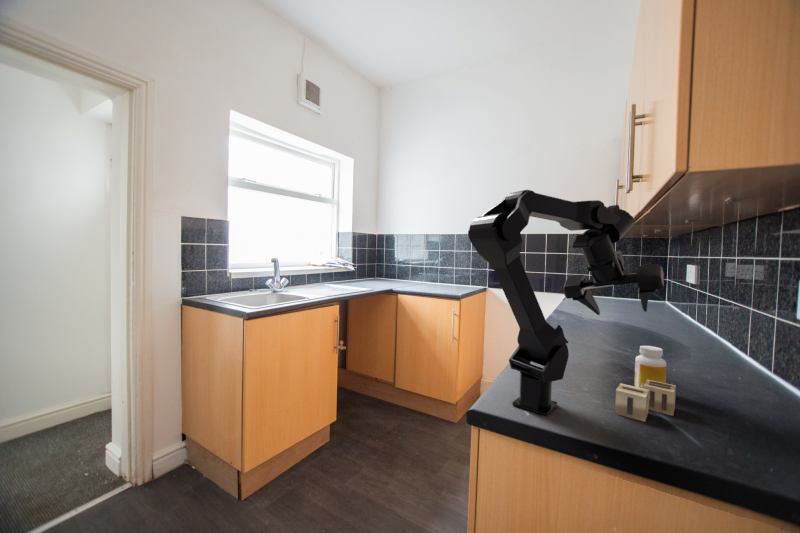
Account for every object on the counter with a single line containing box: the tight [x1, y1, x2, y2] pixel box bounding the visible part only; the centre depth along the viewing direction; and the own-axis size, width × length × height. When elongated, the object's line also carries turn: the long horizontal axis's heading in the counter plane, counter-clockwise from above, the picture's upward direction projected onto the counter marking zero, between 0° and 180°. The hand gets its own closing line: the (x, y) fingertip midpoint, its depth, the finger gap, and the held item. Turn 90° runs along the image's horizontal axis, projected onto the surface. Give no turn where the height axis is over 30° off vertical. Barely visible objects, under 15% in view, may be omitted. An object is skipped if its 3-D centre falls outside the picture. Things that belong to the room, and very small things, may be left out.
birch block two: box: [644, 379, 677, 416], centre depth 64 cm, size 5×4×5 cm
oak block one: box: [614, 382, 649, 423], centre depth 62 cm, size 5×4×5 cm
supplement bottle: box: [633, 345, 667, 389], centre depth 72 cm, size 5×5×10 cm
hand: (621, 312), depth 76 cm, fingers open, 9 cm apart
